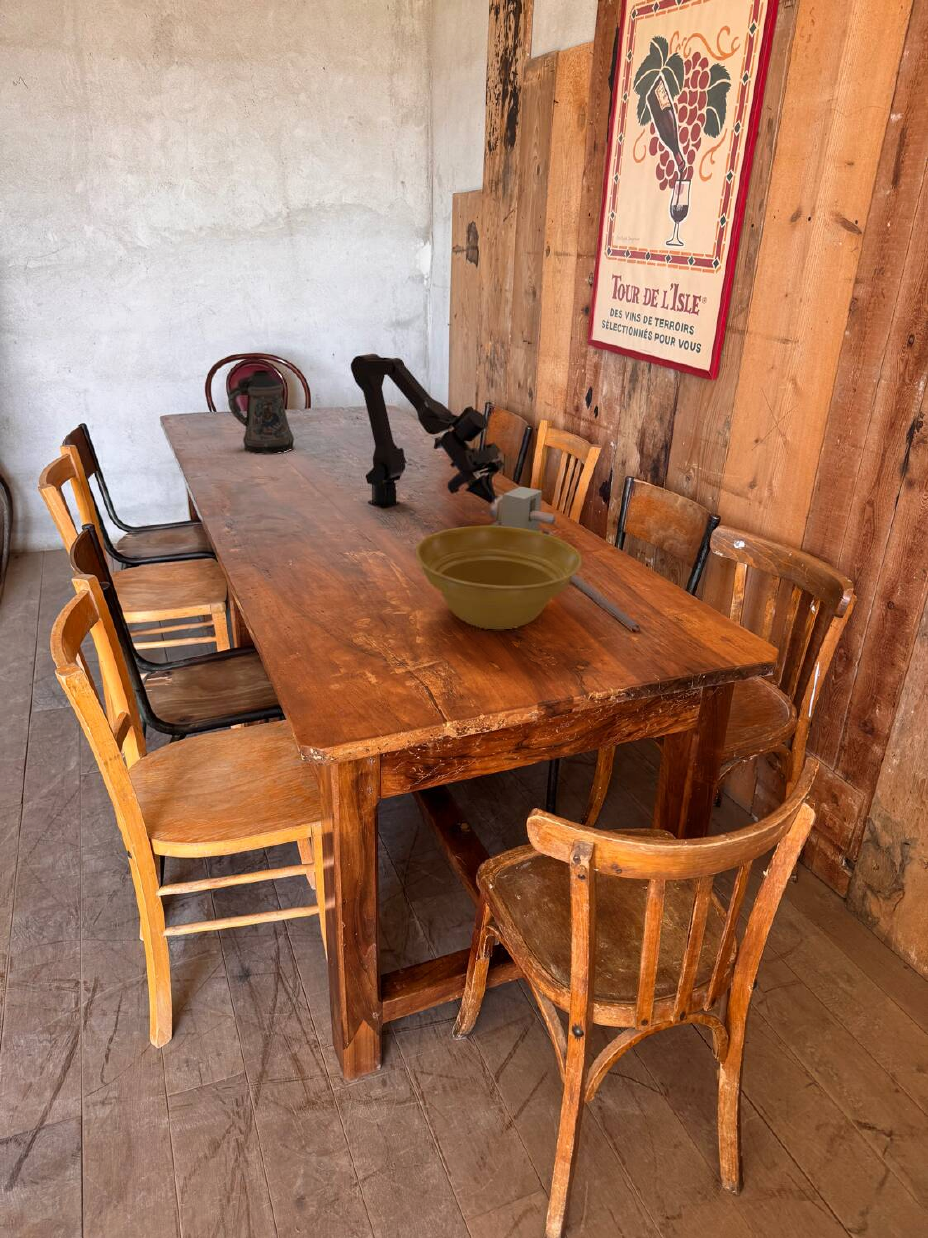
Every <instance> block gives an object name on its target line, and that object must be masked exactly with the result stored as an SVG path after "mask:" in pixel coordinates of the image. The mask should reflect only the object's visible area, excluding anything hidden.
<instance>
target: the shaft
mask: <svg viewBox="0 0 928 1238" xmlns="http://www.w3.org/2000/svg"><path fill="white" fill-rule="evenodd" d="M501 501H503V494H495V497H494V498H493V500H492V502H491V503H490V506H489V515H490V516H491V517H490V518H492V519H495V520H498V511H499V502H501ZM529 519H531V520H535V521H539V522H540V523H545V524H549V525H554V524H555V521H556V515H555V514H552V513H549V512H543V511H541V510H540V511H536V510H531V509H529Z"/></svg>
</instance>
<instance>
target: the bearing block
mask: <svg viewBox="0 0 928 1238" xmlns="http://www.w3.org/2000/svg"><path fill="white" fill-rule="evenodd" d="M502 496H503V504H502V521H501V523H498V520H497V521H495V522H493V523H491V524H489V525H488V526H503V527H514V528H521V529H527V530H532V531H536V532H540V533H544V534H547V535H550V536H553V537H554V534H553V533H551V532H550V530H549V529H543V530H540V523H541V522H539V521H535V520H531V519H529V509H531V510H536V511H540V512H541V509H542V497H543V492H542V490H538V489H535V488H530V487H526V486H525V487H524V486H519V487H516V488H514V489H512V490H509V491H507V492H505V493H502Z"/></svg>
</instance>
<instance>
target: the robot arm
mask: <svg viewBox="0 0 928 1238" xmlns="http://www.w3.org/2000/svg"><path fill="white" fill-rule="evenodd" d="M350 371H351V373H352V376H353V380H354V381H355V383H356V384H357V386H358V387H359V388H360V390H361V391H362V392H363V397H364V401H365V406H366V410H367V414H368V419H369V424H370V427H371V432H372V438H373V441H374V451H373V456H372V466H373V468H371V469H370V471H369V472H367V474H365V479H366V483H367V484H369V485H371V500H368V501H367V503H368V504H370V505H372V506H375V507H379V508H382V509H384V508H389V507H393V506H397V505H399V504H401V501H399V500H397V488H396V487H397V486H396V484H397V483H396V481H400V480H401V478H402V474H403V473H404V471H405V470H406V463H407V460H406V457H405V452H404V448H403V447H398V446H397V445H396V444H395V442H394V438H393V434H392V430H391V429H392V428H391V426H390V420H389V415H388V410H387V405H386V402H385V398H384V397H385V396H384V392H383V385H384V380H385V376H388V377H389V378H390V380H391V381H392V383H393V384H394V385H395V386H396V387H397V389H399V391H400V392H401V394H402V395H403V396H404V397H405V398H406V399H407V401H408V402H409V404H411V406H413V408H414V409H415V411H416V414H417V418H418V421H419V423H420V424H421V426H422V428H423V429H424V431H425V432H426V433H427V434H429V435H438V434H441V433H443V434H442V435H441V436H438V437H435V438H434V444H433V449H434V450H438V449H441V448H442V449H443V450H444V452H445V453H446V455H447V456H448V458H450V460H451V463H450V466H451V468H455V467H456V469H457V470H458V472H457V473H456V475H455V476H453V477H452V478H451V479H450V480H449V481H448V482H447V490H448V491H449V493H450V494H451V495H453V494H455V493H458V492H459V491H460V487H461V486H463V485H466V486H467V488H466V489H465V492H469V493H471V494H473V495H475V496H477V497H479V498H480V499H482V500H484V501H486V502H488V503H489V504H491V502H492V500H493V498H494V497H495V496H496V493H495V490H494V486H493V482H492V481H493V477H494V476H496V475H497V473H499V472H500V471H501V470H502V469H504V468H505V464H504V463H503V461H502V459H499V458H500V457H499V454H500V451H501V449H500V448H499V447H498V445H497V444H496V442H491V443H488V444H486V445H485V449H481V450H478V448H476V447H472V448H471V446H470V445H469V443H471V442H473V441H474V440H476V438H478V437H479V436H480V434H482V433H483V431H485V430H486V429H487V428H488V427H489V426H488V425H489V422H488V419H487V418H486V416H485V415H484V414H482V413H481V412H480V411H478V410H477V409H474V408H473V406H467V407H466V408H464V409H463V411H462V412H461V413H460V415H457V414H454V413H453V412H452V411H451V410H450V409H448V408H447V407H446V406H445V405H444V403H441V402H439V401H438V400H435V399H434V398H433V397H432V396H431V395H430V394H429V393H428V391H426V389H425V388H424V387H423V386H422V385H421V384H420V382H419V381H418V380H417V379H416V377H415V376H414V375H413V373H412V372H411V371H410V370H409V369H408V367H406V365H405V362H404V361H403V359H401V358H400V357H399V358H398V357H392V358H391V357H381V356H379V355H378V354H376V353H367V354H363V355H362V354H361V355H357V356H354V358H353V359H352V361H351V362H350ZM451 429H452V430H451ZM444 432H445V433H444ZM468 442H469V443H468Z"/></svg>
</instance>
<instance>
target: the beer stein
mask: <svg viewBox="0 0 928 1238" xmlns="http://www.w3.org/2000/svg"><path fill="white" fill-rule="evenodd" d="M283 390H284V385H283V383H282V382H280V381H279V379H277V378H275V377H274V376H272V375H271V373H270V370H263V369H262V370H254V371H252V374H251V375H249V376H246V377H241V378H239V379H238V381H237V386H235V387H233V388H231V389H230V391H229V393H228V394H229V395H228V398H227V399H228V401H227V402H228V407H229V410H230V411H231V413H232V415H233V416H234V417H235V418H236V420H238V422H239V423H240V424H242V425H243V426H244V427H245V431H244V435H243V438H242V442H243V444H244V449H245V451H247V450H248V451H250V452H249V453H252V452H255V453H254V454H257V453H278V452H284V451H287V450H289V449H292V448H294V441H295V437H294V434H293V433H292V431H291V428H290V425H289V421H288V418H287V414H286V409H285V403H284V399H283ZM239 396H247V400H246V401H247V402H246V416H245V415H244V414H243V413H242V412H241V411H240V409H239V407H238V406H237V403H236V401H237V398H238V397H239ZM292 450H293V449H292ZM248 451H247V452H248ZM278 454H279V453H278Z"/></svg>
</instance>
